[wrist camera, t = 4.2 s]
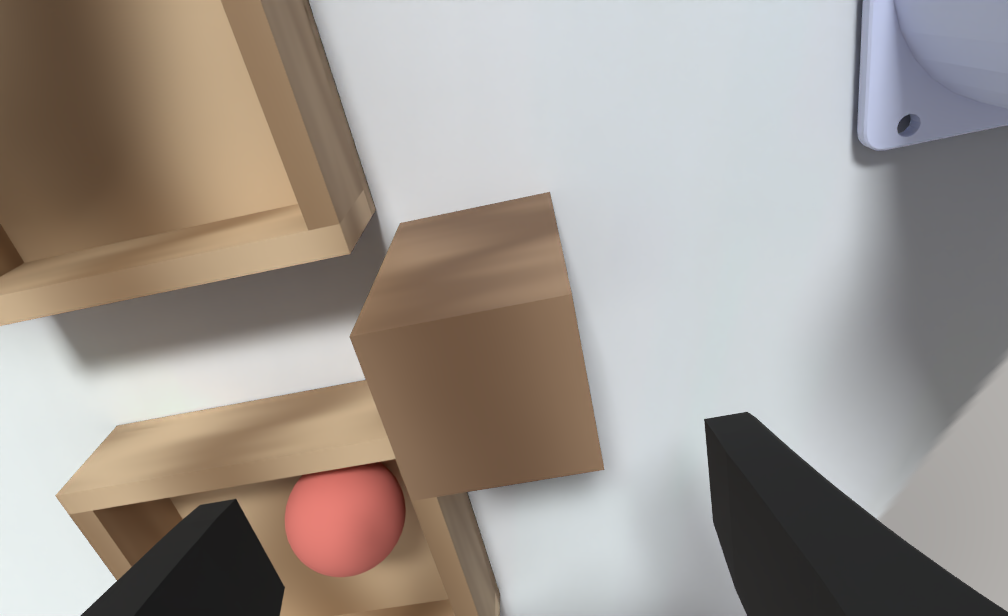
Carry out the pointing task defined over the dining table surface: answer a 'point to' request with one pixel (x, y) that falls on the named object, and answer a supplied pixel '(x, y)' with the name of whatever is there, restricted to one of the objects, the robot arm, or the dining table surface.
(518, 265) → the walnut block
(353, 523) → the red ball
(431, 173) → the dining table surface
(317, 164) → the box empty
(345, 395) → the box with ball
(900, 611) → the robot arm
